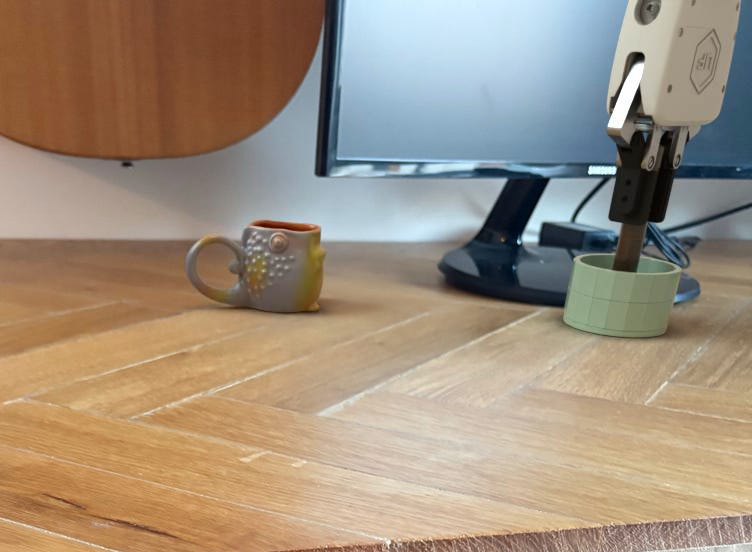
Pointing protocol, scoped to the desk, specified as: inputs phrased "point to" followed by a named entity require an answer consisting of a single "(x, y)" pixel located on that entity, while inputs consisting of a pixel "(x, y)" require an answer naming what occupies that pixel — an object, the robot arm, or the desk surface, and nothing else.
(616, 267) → the stick
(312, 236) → the mug
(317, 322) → the desk surface
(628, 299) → the bowl
